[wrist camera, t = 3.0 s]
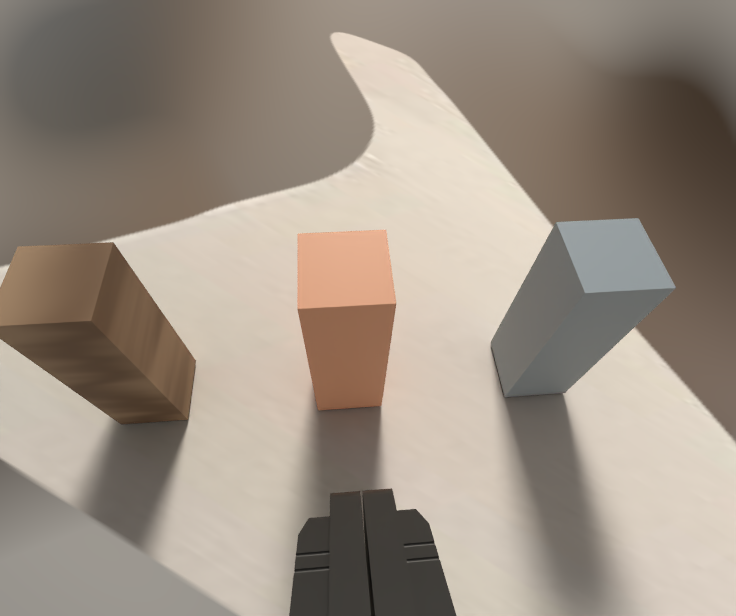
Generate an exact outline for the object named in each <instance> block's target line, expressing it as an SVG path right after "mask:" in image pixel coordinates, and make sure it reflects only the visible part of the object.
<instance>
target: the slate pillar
mask: <svg viewBox="0 0 736 616" xmlns="http://www.w3.org/2000/svg"><path fill="white" fill-rule="evenodd" d="M675 288H676V287H675V285H674V284H673V282H672V280H671V278H670V276H669V274H668V272H667V271H666V269H665V267H664V265H663V263H662V261H661V259H660V258H659V256H658V254H657V252H656V250H655V248H654V246H653V245H652V243H651V241H650V239H649V237H648V236H647V234H646V232H645V230H644V228H643V226H642V224H641V222H640V221H639V219H638V218H637V219H615V220H592V221H572V222H556V224H555V225H554V227H553V229H552V231H551V233H550V234H549V236H548V238H547V240H546V242H545V244H544V245H543V247H542V249H541V251H540V253H539V255H538V256H537V258H536V260H535V262H534V264H533V266H532V267H531V269H530V271H529V273H528V275H527V277H526V278H525V280H524V282H523V284H522V286H521V288H520V289H519V291H518V293H517V295H516V297H515V299H514V300H513V302H512V304H511V306H510V308H509V310H508V311H507V313H506V315H505V317H504V319H503V321H502V322H501V324H500V326H499V328H498V330H497V332H496V333H495V335H494V337H493V339H492V341H491V346H492V350H493V354H494V358H495V362H496V365H497V369H498V373H499V377H500V381H501V385H502V389H503V393H504V397H514V396H528V395H542V394H556V393H565V392H566V391H567V390H568V389H569V388H570V387H571V386H572V385H574V384H575V383H576V382H577V381H578V380H579V379H580V378H581V377H582V376H583V375H584V374H585V373H586V372H587V371H588V370H589V369H591V368H592V367H593V366H594V365H595V364H596V363H597V362H598V361H599V360H600V359H601V358H602V357H603V356H604V355H605V354H606V353H607V352H609V351H610V350H611V349H612V348H613V347H614V346H615V345H616V344H617V343H618V342H619V341H620V340H621V339H622V338H623V337H624V336H626V335H627V334H628V333H629V332H630V331H631V330H632V329H633V328H634V327H635V326H636V325H637V324H638V323H639V322H640V321H641V320H642V319H644V318H645V317H646V316H647V315H648V314H649V313H650V312H651V311H652V310H653V309H654V308H655V307H656V306H657V305H658V304H659V303H661V302H662V301H663V300H664V299H665V298H666V297H667V296H668V295H669V294H670V293H671V292H672V291H673V290H674V289H675Z"/></svg>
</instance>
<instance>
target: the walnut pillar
mask: <svg viewBox="0 0 736 616" xmlns="http://www.w3.org/2000/svg"><path fill="white" fill-rule="evenodd" d="M0 339H1V340H3V341H4V342H6V343H7V344H8V345H10V346H11V347H13V348H14V349H15V350H17V351H18V352H20V353H21V354H22V355H24V356H25V357H27V358H28V359H30V360H31V361H32V362H34V363H35V364H37V365H38V366H39V367H41V368H42V369H44V370H45V371H47V372H48V373H49V374H51V375H52V376H54V377H55V378H56V379H58V380H59V381H61V382H62V383H63V384H65V385H66V386H68V387H69V388H71V389H72V390H73V391H75V392H76V393H78V394H79V395H80V396H82V397H83V398H85V399H86V400H88V401H89V402H90V403H92V404H93V405H95V406H96V407H97V408H99V409H100V410H102V411H103V412H104V413H106V414H107V415H109V416H110V417H112V418H113V419H114V420H116V421H117V422H119V423H120V424H132V423H146V422H160V421H174V420H188V415H189V408H190V400H191V393H192V385H193V378H194V370H195V363H196V360H195V359H194V357H193V356H192V355H191V353H190V352H189V350H188V349H187V347H186V346H185V345H184V343H183V342H182V340H181V339H180V337H179V336H178V335H177V333H176V332H175V330H174V329H173V327H172V326H171V324H170V323H169V322H168V320H167V319H166V317H165V316H164V314H163V313H162V312H161V310H160V309H159V307H158V306H157V304H156V303H155V301H154V300H153V299H152V297H151V296H150V294H149V293H148V291H147V290H146V289H145V287H144V286H143V284H142V283H141V281H140V280H139V279H138V277H137V276H136V274H135V273H134V271H133V270H132V268H131V267H130V266H129V264H128V263H127V261H126V260H125V258H124V257H123V256H122V254H121V253H120V251H119V250H118V248H117V247H116V245H115V244H114V243H113V242H110V243H88V244H68V245H45V246H24V247H18V248H17V250H16V252H15V255H14V257H13V259H12V262H11V264H10V266H9V269H8V271H7V273H6V276H5V278H4V280H3V283H2V285H1V287H0Z"/></svg>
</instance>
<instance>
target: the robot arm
mask: <svg viewBox="0 0 736 616" xmlns="http://www.w3.org/2000/svg"><path fill="white" fill-rule="evenodd" d="M363 515H364V530H363V519H362V508H361V496H360V491H357V492H344V493H332V494H330V516H329V517H317V518H309V519H308V521H307V522H306V524H305V525H304V527H303V528H302V530H301V531H300V533H299V535H298V542H297V551H296V560H295V573H294V579H293V588H292V597H291V606H290V615H289V616H456V613H455V610H454V606H453V603H452V599H451V596H450V593H449V589H448V586H447V583H446V579H445V576H444V573H443V569H442V566H441V562H440V560H439V556H438V552H437V549H436V546H435V544H434V539H433V536H432V532H431V529H430V525H429V523H428V522H427V521H426V520H425V519H424V518H423V516H422V515H421V514H420V513H419V512H418V511H417V510H416V509H411V510H399V511H397V510H396V505H395V500H394V495H393V491H392V489H380V490H367V491H363ZM364 536H365V542H364Z"/></svg>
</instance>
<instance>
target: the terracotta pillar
mask: <svg viewBox="0 0 736 616" xmlns="http://www.w3.org/2000/svg"><path fill="white" fill-rule="evenodd" d="M395 308H396V298H395V291H394V284H393V277H392V269H391V262H390V255H389V247H388V240H387V233H386V230H370V231H347V232H325V233H302V234H298V313H299V318H300V323H301V328H302V333H303V338H304V343H305V348H306V353H307V358H308V363H309V368H310V373H311V378H312V383H313V388H314V393H315V398H316V403H317V408H318V410H330V409H344V408H358V407H372V406H381V405H382V398H383V391H384V384H385V377H386V370H387V363H388V356H389V349H390V343H391V336H392V329H393V322H394V315H395Z"/></svg>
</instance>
